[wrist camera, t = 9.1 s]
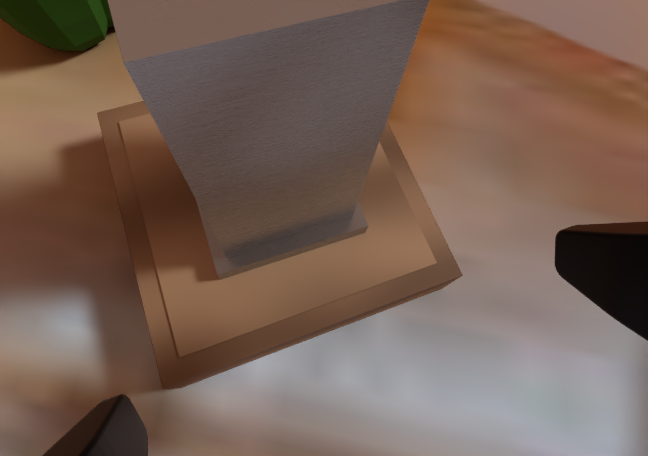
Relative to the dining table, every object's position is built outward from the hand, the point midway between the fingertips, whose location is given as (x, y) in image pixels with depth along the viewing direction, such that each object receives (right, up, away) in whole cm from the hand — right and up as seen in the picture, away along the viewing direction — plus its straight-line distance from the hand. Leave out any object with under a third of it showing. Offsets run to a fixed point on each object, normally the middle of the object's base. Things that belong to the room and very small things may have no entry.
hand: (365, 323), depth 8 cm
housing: (-3, +3, +9) cm, 10 cm away
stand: (-3, +3, +12) cm, 12 cm away
